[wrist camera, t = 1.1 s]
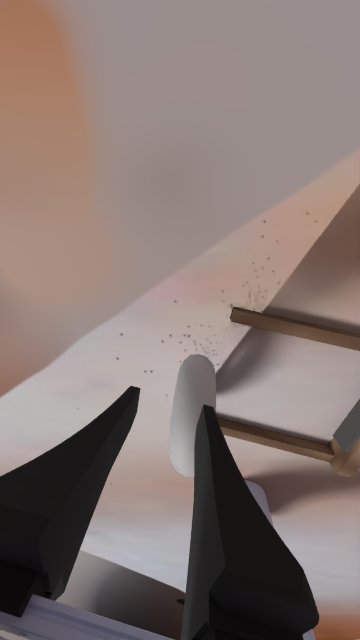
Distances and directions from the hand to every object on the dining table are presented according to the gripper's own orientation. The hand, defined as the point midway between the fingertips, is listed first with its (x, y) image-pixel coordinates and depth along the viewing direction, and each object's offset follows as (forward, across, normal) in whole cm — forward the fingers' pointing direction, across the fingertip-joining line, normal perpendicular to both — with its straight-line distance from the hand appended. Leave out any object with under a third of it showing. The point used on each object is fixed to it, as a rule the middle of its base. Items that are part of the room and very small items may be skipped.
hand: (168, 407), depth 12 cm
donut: (+10, -2, +4) cm, 11 cm away
